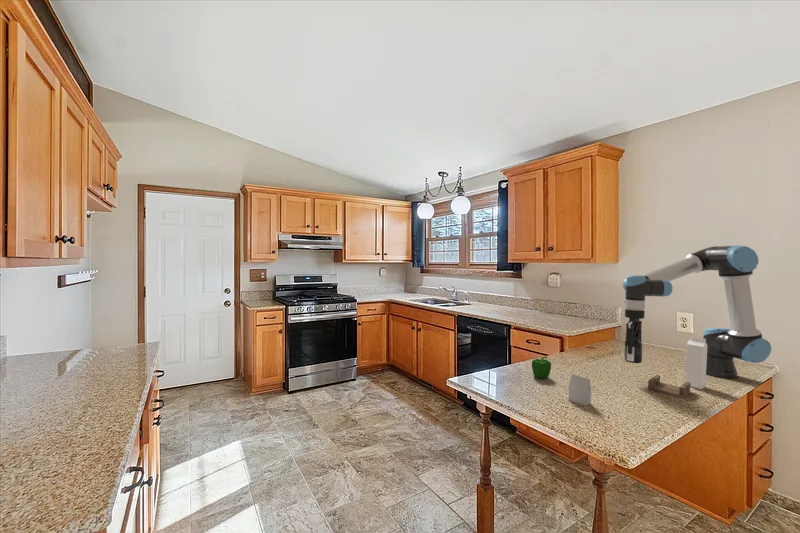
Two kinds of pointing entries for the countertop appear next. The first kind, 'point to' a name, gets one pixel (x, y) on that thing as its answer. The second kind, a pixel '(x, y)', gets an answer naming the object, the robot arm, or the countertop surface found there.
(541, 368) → the bell pepper
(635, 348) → the supplement bottle
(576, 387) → the grey upright block
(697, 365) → the milk
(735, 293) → the robot arm
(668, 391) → the u cradle
